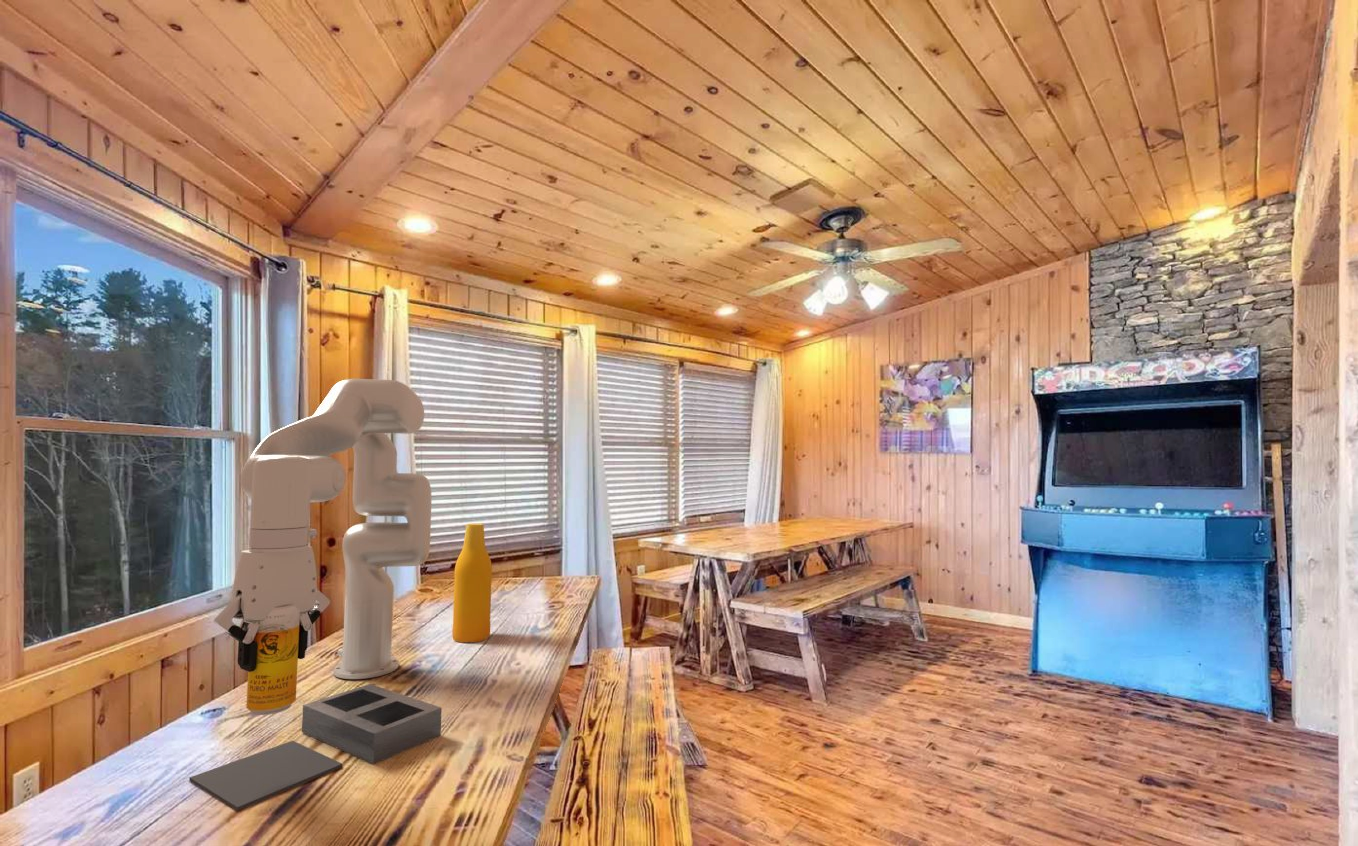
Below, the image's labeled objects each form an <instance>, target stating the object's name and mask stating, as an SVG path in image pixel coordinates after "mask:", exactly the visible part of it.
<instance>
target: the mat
mask: <svg viewBox="0 0 1358 846" xmlns="http://www.w3.org/2000/svg"><path fill="white" fill-rule="evenodd" d="M343 765H344V764H343V763H342V762H340V761H338V760H335V759H334V758H331V757H329V756H327V755H324V754H323V753H320V752H318V751H316V750H314V749H312V748H310V747H308V746H305V745H303V744H301V743H299V742H297V741H294V740H290V741H287V742H285V743H281V744H279V745H277V746H274V747H272V748H268V749H266V750H262V751H259V752H257V753H254V754H251V755H248V756H246V757H243V758H240V759H238V760H234V761H231V762H229V763H226V764H224V765H219V766H217V767H214V768H212V769H209V770H206V771H203V772H201V773H198V774H196V775H191V776H190V777H189V778H188V779H189V780H188V781H189V782H190V783H191V784H193V785H195V786H196V787H198V788H200V789H201V790H203V791H204V792H205V793H208V794H209V795H210V796H212V797H214V798H215V799H217V800H218V801H220V802H222V803H224V804H225V805H227V806H228V807H230V808H232V809H233V810H235V811H236V812H238V811H241V810H243V809H246V808H248V807H251V806H253V805H255V804H258V803H260V802H263V801H264V800H268V799H270V798H272V797H274V795H275V796H277V795H280V794H281V792H282V793H284V792H287V791H289V790H291V789H294V788H296V787H299V786H300V785H303V784H305V783H308V782H310V781H313V780H315V779H317V778H319V777H323V776H324V775H328V774H329V773H332V772H334V771H336V770H339V769H342V768H343ZM286 790H287V791H286ZM276 794H277V795H276Z"/></svg>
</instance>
